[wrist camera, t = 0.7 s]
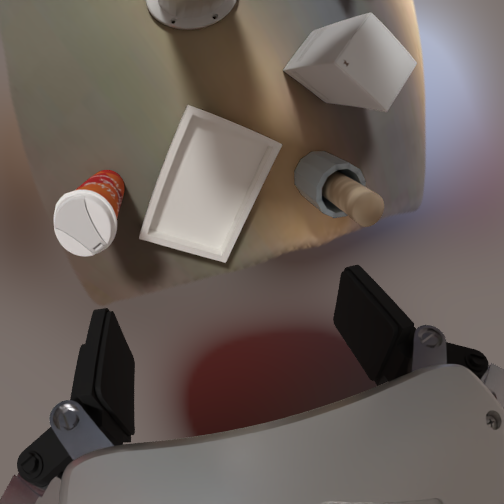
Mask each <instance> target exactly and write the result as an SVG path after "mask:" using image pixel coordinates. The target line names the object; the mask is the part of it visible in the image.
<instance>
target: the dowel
mask: <svg viewBox="0 0 504 504" xmlns="http://www.w3.org/2000/svg"><path fill="white" fill-rule="evenodd" d="M322 196H324V197H325V198H326V199H328V200H329V201H330V202H332V203H333V204H334V205H335V206H337V207H338V208H339V209H341V210H342V211H343V212H344V213H346V214H347V215H348V216H349V217H351V218H352V219H353V220H354V221H356V222H357V223H358V224H359V225H361V226H363V227H369V226H371V225H374V224H375V223H376V222H377V221H378V220H379V219H380V218H381V216H382V214H383V210H384V202H383V199H382V198H381V196H379V195H378V194H376V193H375V192H373V191H371V190H370V189H368V188H366V187H365V186H363V185H361V184H360V183H358V182H356V181H354V180H353V179H351V178H349V177H347V176H346V175H344V174H342V173H340V172H338V171H335V172H334V173H332V174H331V175H329V176H328V177H327V179H326V181H325V183H324V185H323V187H322Z"/></svg>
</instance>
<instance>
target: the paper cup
mask: <svg viewBox="0 0 504 504" xmlns="http://www.w3.org/2000/svg"><path fill="white" fill-rule="evenodd" d="M123 195H124V182H123V180H122V178H121V177H120V175H119V174H117V173H116V172H114V171H111V170H103V171H100V172H98V173H96V174H95V175H93V176H92V177H91V178H89V179H88V180H87V181H86V182H84V183H83V184H82V185H81V186H80V187H78V188H77V189H76V190H75V191H72V192H69V193H66V194H64V195H63V196H62V197H61V198H60V199H59V201H58V202H57V204H56V208H55V213H54V230H55V234H56V237H57V239H58V240H59V242H60V243H61V245H62V246H63V247H64V248H65V249H66V250H68V251H69V252H71V253H73V254H75V255H79V256H92V255H95V254H96V253H99V252H101V251H103V250H105V249H106V248H107V247H108V246H109V245H110V244H111V243H112V242H113V240H114V238H115V235H116V231H117V217H118V213H119V210H120V206H121V203H122V199H123Z"/></svg>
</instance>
